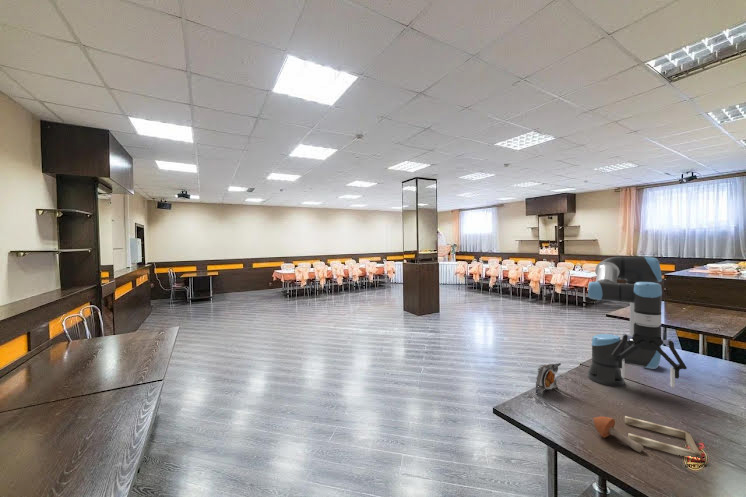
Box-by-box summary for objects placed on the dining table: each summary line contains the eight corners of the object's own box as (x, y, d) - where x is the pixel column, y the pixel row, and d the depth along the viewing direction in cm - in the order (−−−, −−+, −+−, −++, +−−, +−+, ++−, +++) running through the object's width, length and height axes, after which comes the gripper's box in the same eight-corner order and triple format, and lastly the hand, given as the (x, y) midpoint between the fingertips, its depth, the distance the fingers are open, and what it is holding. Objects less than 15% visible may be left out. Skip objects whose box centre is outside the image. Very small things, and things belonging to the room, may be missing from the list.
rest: (628, 443, 109) (628, 434, 108) (624, 423, 120) (624, 415, 120) (700, 464, 98) (701, 454, 98) (689, 440, 110) (689, 432, 110)
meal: (544, 398, 140) (544, 370, 140) (535, 394, 144) (535, 367, 143) (561, 389, 148) (561, 363, 148) (552, 386, 152) (552, 360, 151)
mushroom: (641, 441, 100) (591, 410, 113) (633, 462, 101) (585, 429, 114) (650, 436, 104) (601, 407, 117) (642, 457, 105) (594, 426, 118)
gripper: (604, 321, 115) (604, 376, 116) (699, 332, 100) (698, 395, 101) (604, 317, 121) (603, 369, 122) (693, 327, 106) (692, 386, 107)
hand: (646, 381), depth 111 cm, fingers open, 13 cm apart
